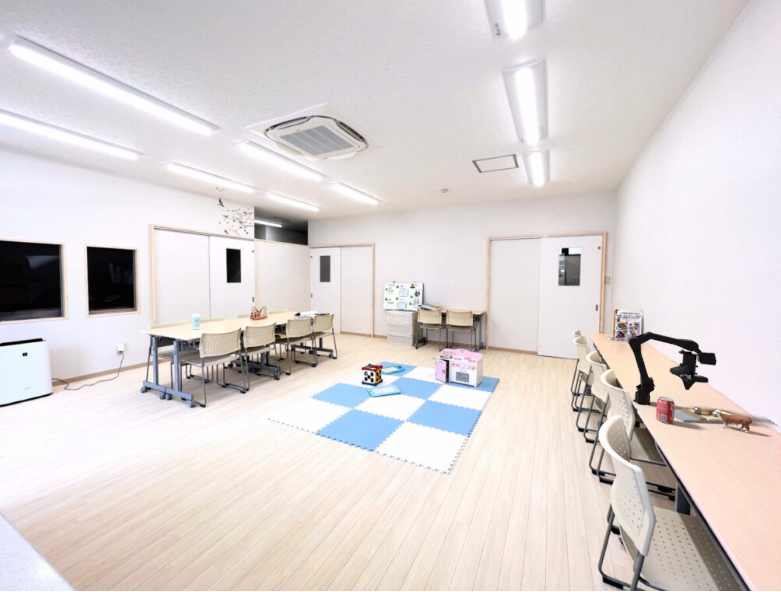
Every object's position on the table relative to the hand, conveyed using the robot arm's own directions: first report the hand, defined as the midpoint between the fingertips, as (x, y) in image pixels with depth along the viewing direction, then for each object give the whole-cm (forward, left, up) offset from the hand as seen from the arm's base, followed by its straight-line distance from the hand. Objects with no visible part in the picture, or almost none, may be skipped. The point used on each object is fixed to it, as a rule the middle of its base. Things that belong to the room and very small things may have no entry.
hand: (686, 390), depth 181 cm
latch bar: (+3, -10, -9) cm, 14 cm away
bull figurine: (+4, -22, -12) cm, 25 cm away
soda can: (-23, -16, -12) cm, 31 cm away
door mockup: (-2, -10, -12) cm, 15 cm away
